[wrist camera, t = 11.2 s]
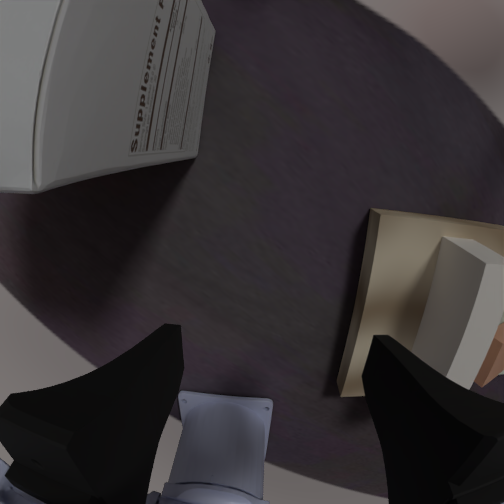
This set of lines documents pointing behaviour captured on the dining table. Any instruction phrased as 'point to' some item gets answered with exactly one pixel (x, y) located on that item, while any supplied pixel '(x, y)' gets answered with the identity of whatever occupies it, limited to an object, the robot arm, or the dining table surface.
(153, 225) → the dining table surface
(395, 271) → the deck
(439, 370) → the push bar
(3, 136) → the supplement box
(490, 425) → the robot arm
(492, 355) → the tile
